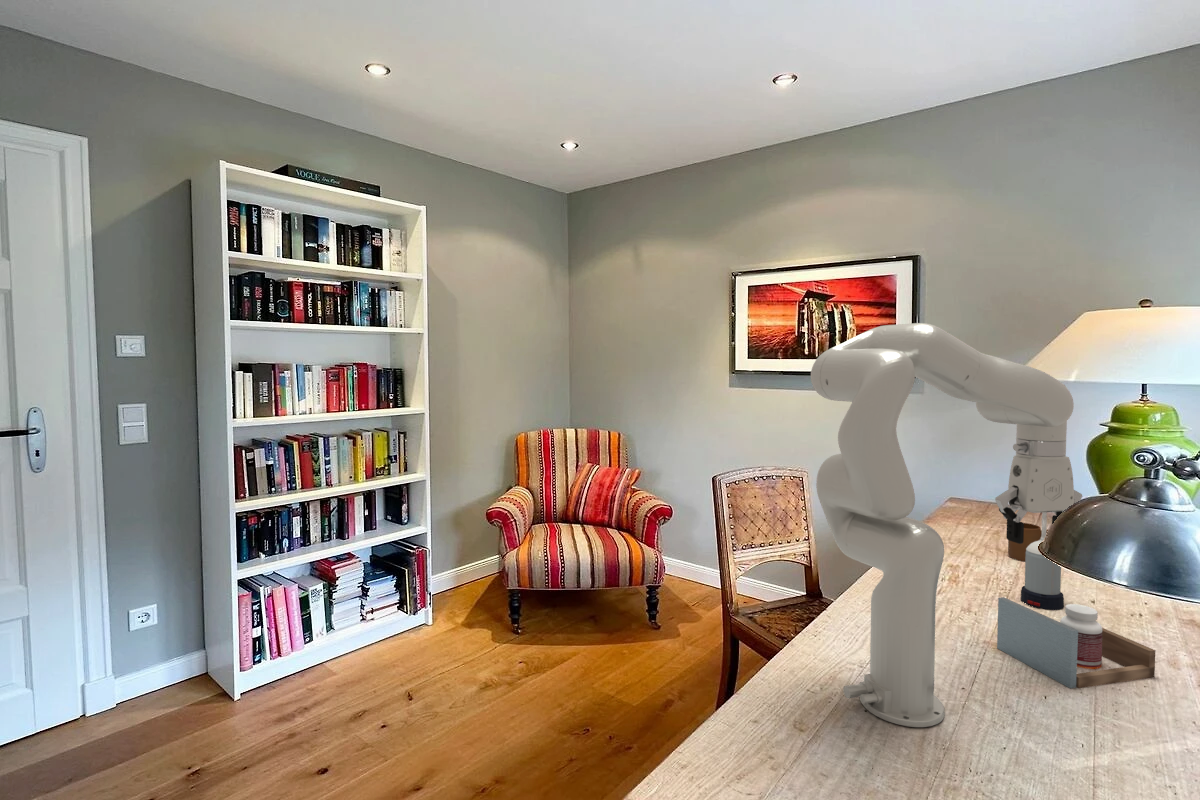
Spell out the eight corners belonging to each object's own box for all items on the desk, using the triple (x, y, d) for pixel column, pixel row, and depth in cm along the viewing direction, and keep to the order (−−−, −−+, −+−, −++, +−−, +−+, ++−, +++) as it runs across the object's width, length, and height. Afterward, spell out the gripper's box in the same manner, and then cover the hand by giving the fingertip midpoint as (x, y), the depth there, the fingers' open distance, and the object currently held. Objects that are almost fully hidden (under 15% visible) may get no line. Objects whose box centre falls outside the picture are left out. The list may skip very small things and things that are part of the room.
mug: (1059, 559, 173) (1060, 526, 173) (1060, 567, 167) (1061, 533, 166) (1008, 552, 180) (1009, 520, 180) (1007, 559, 174) (1008, 526, 173)
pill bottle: (1106, 668, 113) (1109, 610, 112) (1093, 679, 110) (1095, 618, 109) (1066, 655, 118) (1068, 599, 118) (1053, 664, 115) (1054, 607, 114)
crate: (1078, 694, 105) (1079, 660, 104) (1002, 652, 120) (1003, 622, 119) (1154, 683, 108) (1155, 650, 107) (1070, 644, 123) (1071, 614, 122)
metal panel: (1070, 688, 104) (1072, 631, 104) (997, 648, 119) (998, 597, 119) (1076, 687, 105) (1078, 630, 104) (1002, 647, 119) (1003, 597, 119)
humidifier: (1025, 607, 141) (1029, 499, 139) (1016, 594, 149) (1019, 492, 147) (1069, 612, 138) (1072, 502, 136) (1057, 598, 146) (1060, 494, 144)
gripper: (1015, 453, 109) (1013, 549, 110) (1100, 449, 111) (1096, 543, 112) (983, 447, 116) (980, 537, 117) (1062, 444, 119) (1060, 531, 120)
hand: (1037, 540), depth 115 cm, fingers open, 9 cm apart
